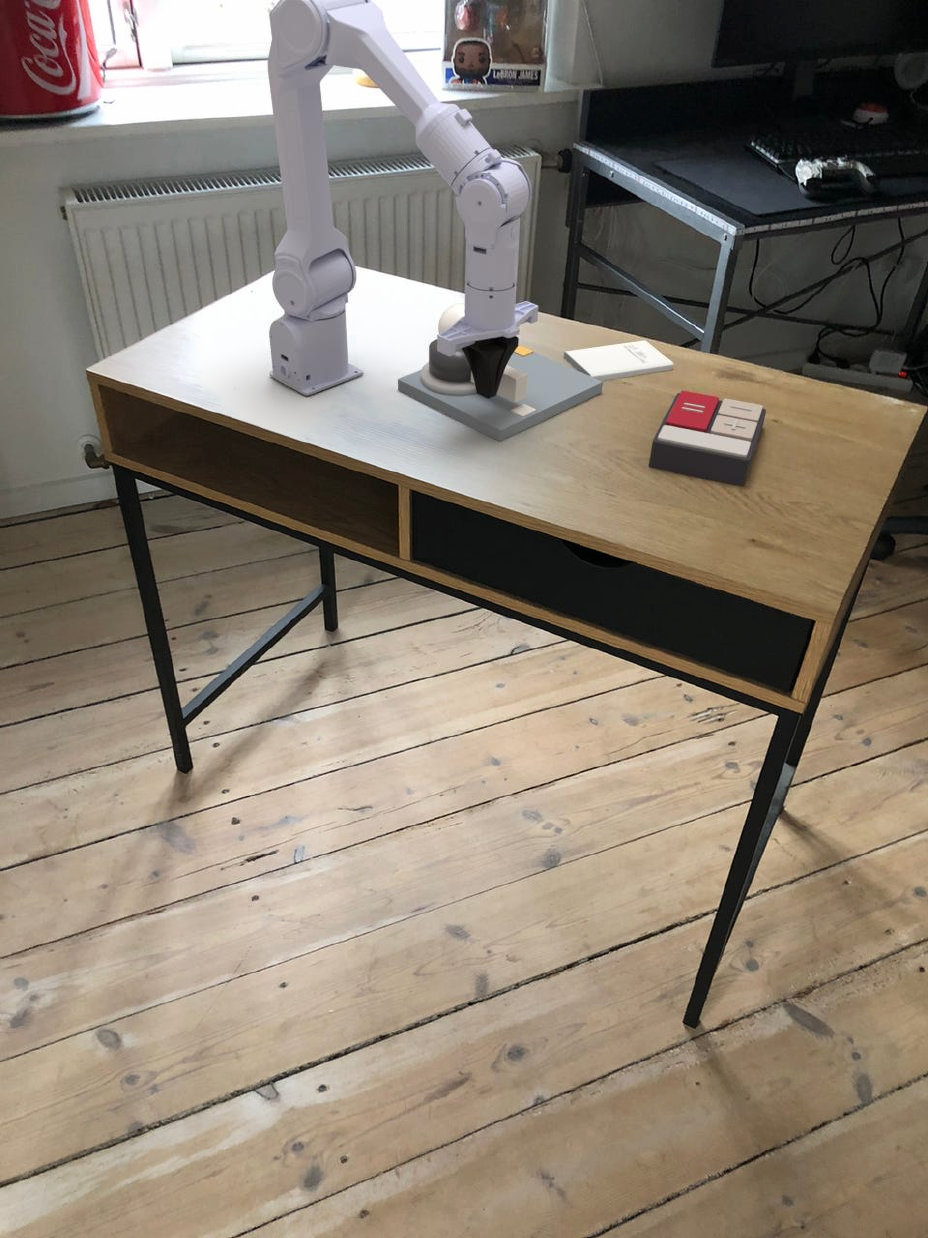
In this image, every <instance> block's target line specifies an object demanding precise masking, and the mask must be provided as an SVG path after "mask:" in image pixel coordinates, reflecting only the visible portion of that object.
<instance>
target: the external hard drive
mask: <svg viewBox="0 0 928 1238" xmlns="http://www.w3.org/2000/svg"><path fill="white" fill-rule="evenodd" d="M563 359H565V360H566V361H567V362H568V363H569V364H570V365H571V366H572V368H573V369H574V370H577V371H579V372H581V373H584V374H586V375H588V376H591V377H593V378H595V379H598V380H600V381H602V382H605V381H611V380H618V379H624V378H629V377H630V378H631V377H637V376H643V375H648V374H656V373H662V372H666V371H667V372H669V371H673V370H674V365H675V364H674V362H673V361H672V360H671V359H669V358H668V357H667V356H666V355H665V354H663V353H662V352H660V351H659V350H658V349H657V348H655V347H654V346H653V345H652V344H651V343H649V342H648V341H647V340H645V339H644V340H637V341H631V342H623V343H616V344H608V345H603V346H597V347H596V346H595V347H588V348H587V347H586V348H580V349H574V350H566V351H564V352H563ZM672 369H673V370H672Z"/></svg>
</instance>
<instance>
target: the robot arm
mask: <svg viewBox="0 0 928 1238" xmlns="http://www.w3.org/2000/svg"><path fill="white" fill-rule="evenodd" d="M268 16H269V25H270V34H271V42H270V46H269V47H270V48H269V52H268V57H267V77H268V83H269V91H270V100H271V107H272V115H273V123H274V131H275V140H276V146H277V147H276V148H277V156H278V162H279V172H280V178H281V188H282V197H283V203H284V213H285V220H286V229H287V230H286V232H285V234H284V236H283V237H282V239H281V241H280V243H279V244H278V246H277V248H276V249H275V252H274V255H273V256H274V265H275V266H274V272H273V275H272V280H271V281H272V284H271V285H272V291H273V294H274V297H275V300H276V302H277V303H278V304H279V306H280V307H281V309H283V311H284V313H283V314H282V315H281V316H280V317H279V318H277V319H275V320H273V321H272V322H271V323H270V326H269V330H268V332H269V333H268V335H269V337H268V338H269V347H270V355H271V357H270V358H271V366H272V370H271V371H270V372H269V377H271V378H273V379H275V380H277V381H278V382H280V383H282V384H284V385H286V386H287V387H289V388H291V389H293V390H295V391H296V392H297V393H300V394H302V395H304V396H310V395H313V394H316V393H318V392H321V391H324V390H327V389H329V388H331V387H334V386H337V385H339V384H341V383H344V382H347V381H350V380H353V379H354V378H358V377H360V376H363V374H364V372H363V370H362V369H361V368H359V367H357V366H355V365H353V364H351V363H349V354H348V330H347V309H346V304H347V303H349V295H348V294H349V293H351V292H352V291H353V289H354V288H355V285H356V282H357V270H356V266H355V262H354V261H353V258H352V256H351V254H350V250H349V246H348V243H349V242H348V238H347V236H345V235H344V234H343V233H342V232H340V230H338V229H337V228H336V227H335V226H334V218H333V206H332V197H331V196H332V195H331V185H330V177H329V176H330V175H329V166H328V165H329V164H328V156H327V143H326V135H325V123H324V115H323V112H324V111H323V104H322V92H321V81H322V80H323V79H324V78H325V76H326V75H327V74H328V73H329V72H330V71H331V69H333V67H334V66H335V67H341V68H350V69H356V70H361V71H363V72H364V73H365V75H366V76H367V77H368V78H369V79H370V80H371V81H372V82H373V83H374V84H375V85H376V86H377V88H379V90H381V92H382V93H383V94H384V95H385V96H386V97H387V98H388V99H389V100H390V101H391V102H392V103H393V105H395V107H396V108H397V109H398V110H399V111H400V112H401V113H402V114H403V115H404V117H405V118H406V119H408V120H409V122H410V123H412V125H413V126H414V127H415V145H416V148H418V149H419V151H420V152H421V153H422V154H423V156H424V157H425V158H426V159H427V160H428V162H429V163H430V164H431V166H432V167H433V168H434V169H435V170H436V171H437V173H438V174H439V175H440V176H441V178H442V179H443V180H444V181H445V182H446V183H447V185H448V186H449V187H450V188H451V189H452V190H453V192H454V193H455V194H456V195H457V196H456V197H455V205H456V209H457V213H458V216H459V217H460V219H461V221H462V222H463V224H464V238H465V273H464V274H465V275H464V277H465V279H464V280H465V281H464V304H465V310H464V316H463V317H462V318H461V319H460V320H459V321H457V322H456V323H455V324H454V325H453V326H451V327H450V328H449V329H448V330H446V331H445V332H443V333H441V334H439V333H438V334H437V338H436V339H437V351H438V352H440V353H442V354H444V355H447V356H449V357H450V356H452V355H455V351H456V350H459V349H462V350H463V352H464V354H465V356H466V358H467V360H468V363H469V365H470V368H471V371H472V374H473V378H474V383H475V387H476V392H477V394H479V395H481V396H483V397H485V398H487V399H489V398H492V397H494V396H496V394H497V391H498V388H499V385H500V382H501V378H502V376H503V373H504V370H505V368H506V365H507V363H508V361H509V359H510V358H511V356H512V354H513V353H514V351H515V350H516V348H517V347H518V345H519V342H520V341H519V339H520V338H519V337H518V335H520V334H521V333H520V331H521V329H520V326H521V325H524V324H525V323H529V324H534V323H537V322H538V319H539V318H538V317H539V305H537V304H535V303H532V302H530V301H527V300H525V301H523V302H519V303H518V302H517V301H516V300H517V286H518V285H517V284H518V268H519V255H520V254H519V252H520V250H519V249H520V232H521V231H520V230H521V217H520V215H521V214H523V212H524V211H525V210H527V208H528V206H529V204H530V203H531V200H532V185H531V181H530V179H529V176H528V174H527V173H526V171H525V169H524V167H523V165H522V164H521V163H520V162H519V161H516V160H514V159H510V158H505V157H503V156H502V155H501V153H500V152H499V151H498V150H497V149H496V148H495V149H493V148H492V146H491V145H490V144H489V142H488V141H487V140H486V139H485V138H484V136H483V135H482V134H481V132H480V131H479V130H478V129H477V128H476V127H475V125H473V122H471V121H472V120H473V116H472V115H471V113H470V112H469V111H468V110H467V109H466V108H462V109H461V108H460V107H459V106H458V105H457V104H455V103H443V102H441V101H439V100H438V98H437V97H436V95H435V94H434V93H433V91H432V90H431V88H430V87H429V86H428V84H427V82H426V81H425V80H424V78H423V77H422V76H421V75H420V73H419V71H418V70H417V69H416V68H415V66H414V65H413V63H412V62H411V61H410V59H409V58H408V56H407V55H406V53H405V52H404V50H402V48H401V46H400V45H399V44H398V42H397V41H396V40H395V38H394V37H393V36H392V33H390V31H389V30H388V28H387V25H386V22H385V19H384V14H383V10H382V9H381V7H380V6H378V5H377V4H376V3H375V2H374V1H372V0H278V2H277V3H276V4H275V5H274V7H272V9H271V10H270V11H269V13H268ZM516 302H517V303H516Z"/></svg>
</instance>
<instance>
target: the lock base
mask: <svg viewBox="0 0 928 1238" xmlns="http://www.w3.org/2000/svg"><path fill="white" fill-rule="evenodd" d="M507 365H508V366H510V367H512V368H514V369H517V370H519V371H521V372H523V373H526V374H528V378H527V392H526V398H524V399H522V400H519V401H517V402H513V401H511V400H509V399H506V398H504V397H502V396H500V395H498V394H496V396H494V397H492V398H489V399H487V398H485V397H483V396H481V395H479V394H477V392H476V387H475V383H473V382H471V381H468V382H448V381H443V380H440V379H438V378H436V377H434V376H432V375H431V373H430V372H429V361H428V362H426V363H425V364H424V365H423V366H421V367H422V368H421V369H419V370H417V371H415V372H412V373H410V374H407V375H405V376H402V377H399V378H397V391H399V392H401V393H403V394H405V395H407V396H409V397H411V398H414V399H415V400H417V401H419V402H421V403H423V404H424V405H427V406H429V407H430V408H433V409H435V410H437V411H439V412H441V413H442V414H444V415H447V416H449V417H450V418H452V419H454V420H457V421H458V422H460V423H462V424H464V425H465V426H468V427H470V428H472V429H474V430H475V431H479V433H482V434H485V435H486V436H488V437H489V438H492V439H493V440H496V441H497V442H500V443H501V442H503V441H505V440H506V439H509V438H511V437H513V436H516V435H518V434H519V433H521V432H523V431H525V430H527V429H529V428H531V427H533V426H536V425H537V424H540V423H542V422H544V421H546V420H548V419H550V418H552V417H555V416H556V415H558V414H560V413H563V412H565V411H567V410H569V409H571V408H573V407H575V406H577V405H578V404H581V403H584V402H585V401H588V400H589V399H592V398H594V397H596V396H597V395H600V394H602V392H603V385H604V384H603V383H604V381H600V380H598V379H595V378H593V377H591V376H588V375H586V374H584V373H581V372H579V371H577V370H576V369H575V368H573V367H570V366H567V365H565V364H563V363H560V362H558V361H556V360H553V359H551V358H549V357H546V356H545V355H542V354H539V353H537V352H535V351H534V350H532V349H529V348H527V347H525V346H522V345H520V344H518V347H517V348H516V350H515V351H514V353H513V354H512V356H511V358H510V359H509V361H508V363H507Z"/></svg>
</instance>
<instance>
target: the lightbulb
mask: <svg viewBox="0 0 928 1238" xmlns="http://www.w3.org/2000/svg"><path fill="white" fill-rule="evenodd" d="M464 310H465V302H464V303H455V304H453V305H450V306H449V307H447V308H446V309H445V310H444V311H443V313H442V314H441V316H440V318H439V320H438V321H439V322H438V328H437V329H438V335H439V334H441V333H443V332H445V331H446V330H448V329H449V328H450V327H451V326H453V325H454V324H455V323H456V322H457V321H459V320H460V319H461V318H462V317H463V316H464Z"/></svg>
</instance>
